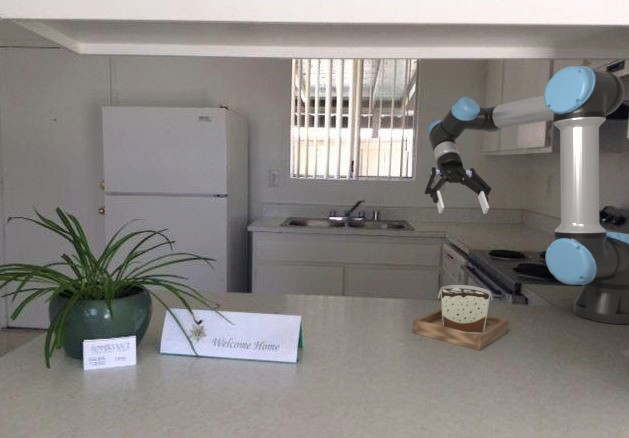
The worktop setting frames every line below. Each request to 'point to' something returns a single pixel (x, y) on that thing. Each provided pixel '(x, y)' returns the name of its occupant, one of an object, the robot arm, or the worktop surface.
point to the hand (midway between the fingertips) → (464, 210)
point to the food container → (464, 307)
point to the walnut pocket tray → (434, 329)
